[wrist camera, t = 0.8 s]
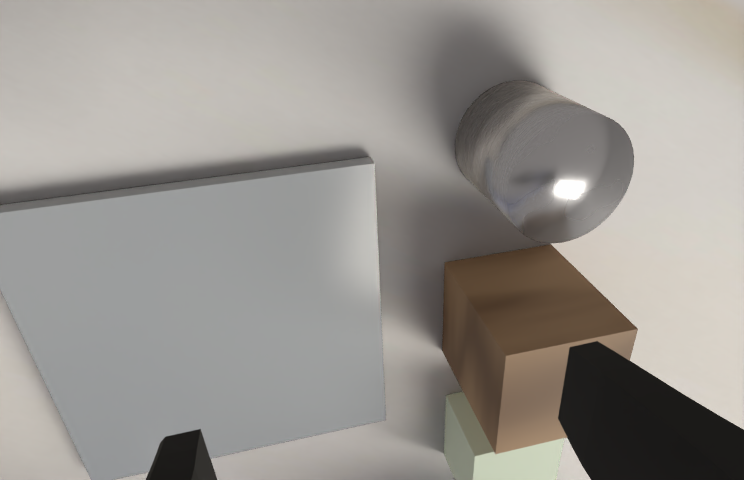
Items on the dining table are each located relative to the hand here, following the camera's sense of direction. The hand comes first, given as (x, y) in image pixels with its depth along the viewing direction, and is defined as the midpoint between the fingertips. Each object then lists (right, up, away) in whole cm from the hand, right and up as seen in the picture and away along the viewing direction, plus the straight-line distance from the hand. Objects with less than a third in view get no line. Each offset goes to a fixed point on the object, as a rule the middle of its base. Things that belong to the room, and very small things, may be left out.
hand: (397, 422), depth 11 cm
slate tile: (-6, 0, +10) cm, 11 cm away
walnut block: (+5, +1, +12) cm, 13 cm away
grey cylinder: (+4, +7, +9) cm, 12 cm away
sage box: (+5, -5, +16) cm, 17 cm away
